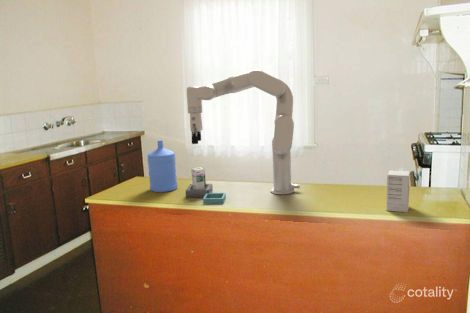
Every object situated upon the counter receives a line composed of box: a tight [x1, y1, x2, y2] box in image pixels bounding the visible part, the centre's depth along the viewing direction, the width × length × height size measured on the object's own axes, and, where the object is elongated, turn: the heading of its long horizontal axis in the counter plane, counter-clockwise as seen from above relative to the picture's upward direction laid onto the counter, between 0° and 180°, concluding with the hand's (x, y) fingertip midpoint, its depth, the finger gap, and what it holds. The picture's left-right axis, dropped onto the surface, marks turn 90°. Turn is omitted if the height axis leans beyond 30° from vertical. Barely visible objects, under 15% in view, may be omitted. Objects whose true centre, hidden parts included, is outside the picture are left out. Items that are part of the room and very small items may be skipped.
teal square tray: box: [202, 192, 227, 205], centre depth 223 cm, size 10×10×2 cm
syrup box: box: [190, 166, 207, 189], centre depth 234 cm, size 6×6×14 cm
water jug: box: [147, 140, 178, 193], centre depth 247 cm, size 16×16×28 cm
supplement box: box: [386, 170, 411, 213], centre depth 196 cm, size 10×9×17 cm
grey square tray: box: [185, 183, 214, 199], centre depth 235 cm, size 13×13×4 cm
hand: (196, 142), depth 230 cm, fingers open, 9 cm apart
